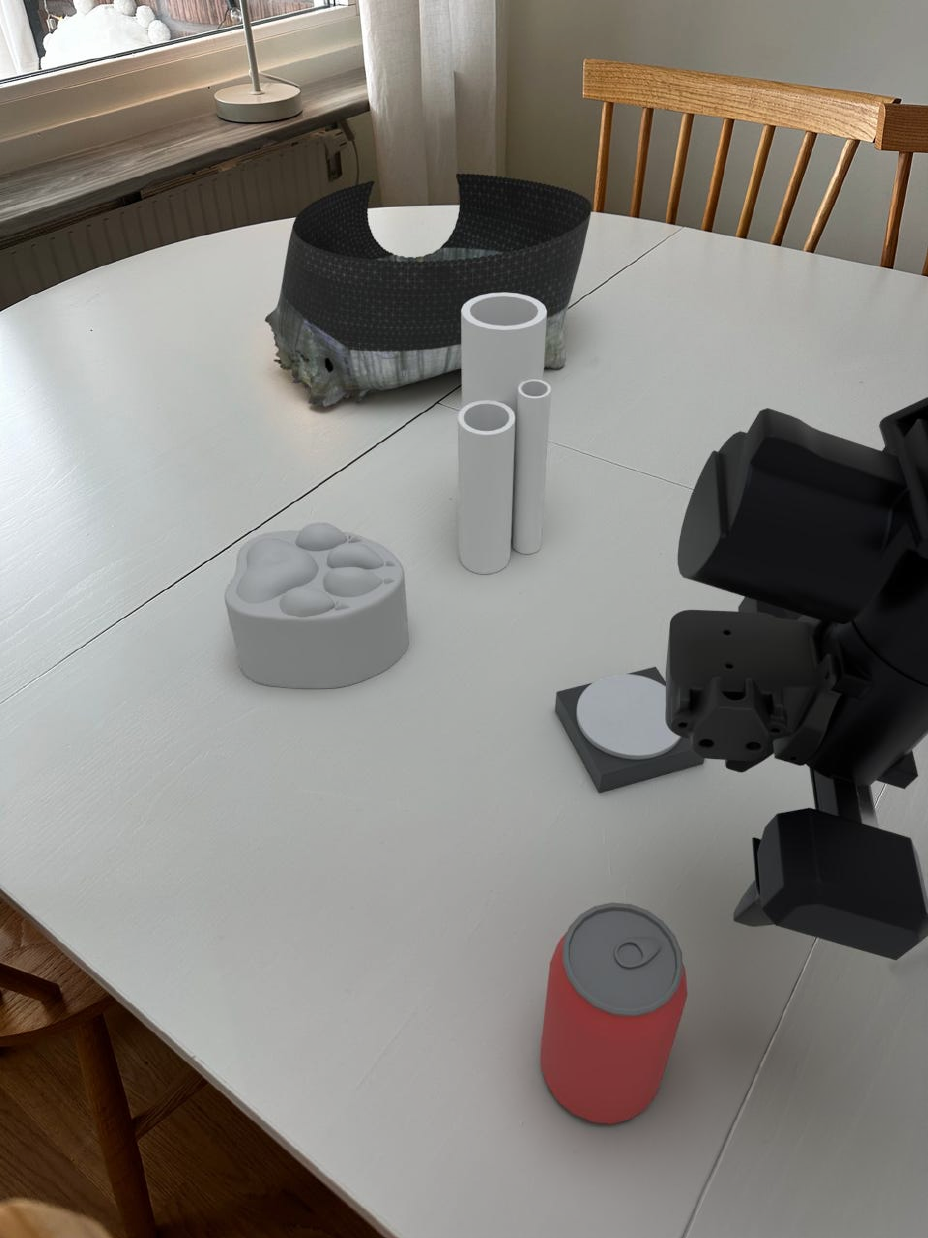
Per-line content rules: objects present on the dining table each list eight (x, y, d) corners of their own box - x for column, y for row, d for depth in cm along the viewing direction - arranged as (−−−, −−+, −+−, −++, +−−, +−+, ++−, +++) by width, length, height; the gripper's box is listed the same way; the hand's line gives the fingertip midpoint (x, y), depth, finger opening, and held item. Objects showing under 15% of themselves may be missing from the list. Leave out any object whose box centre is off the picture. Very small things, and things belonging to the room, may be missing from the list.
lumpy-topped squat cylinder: (258, 596, 82) (241, 512, 76) (413, 598, 81) (408, 515, 75) (232, 687, 74) (211, 602, 68) (403, 690, 74) (397, 605, 68)
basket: (296, 297, 123) (279, 162, 112) (574, 296, 123) (584, 161, 112) (260, 416, 103) (234, 265, 92) (594, 416, 102) (608, 264, 91)
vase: (463, 495, 92) (461, 291, 78) (540, 497, 92) (551, 292, 78) (458, 573, 84) (455, 360, 70) (542, 575, 83) (556, 362, 70)
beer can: (683, 1099, 52) (723, 993, 44) (572, 1149, 50) (591, 1048, 42) (624, 989, 56) (649, 874, 48) (520, 1031, 55) (528, 919, 47)
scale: (652, 684, 74) (656, 661, 72) (703, 763, 68) (709, 740, 67) (554, 710, 72) (556, 686, 71) (599, 793, 67) (602, 770, 65)
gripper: (718, 444, 45) (597, 663, 56) (739, 762, 32) (574, 969, 42) (940, 517, 46) (778, 719, 57) (1053, 857, 32) (813, 1036, 43)
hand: (737, 839), depth 50 cm, fingers open, 9 cm apart
